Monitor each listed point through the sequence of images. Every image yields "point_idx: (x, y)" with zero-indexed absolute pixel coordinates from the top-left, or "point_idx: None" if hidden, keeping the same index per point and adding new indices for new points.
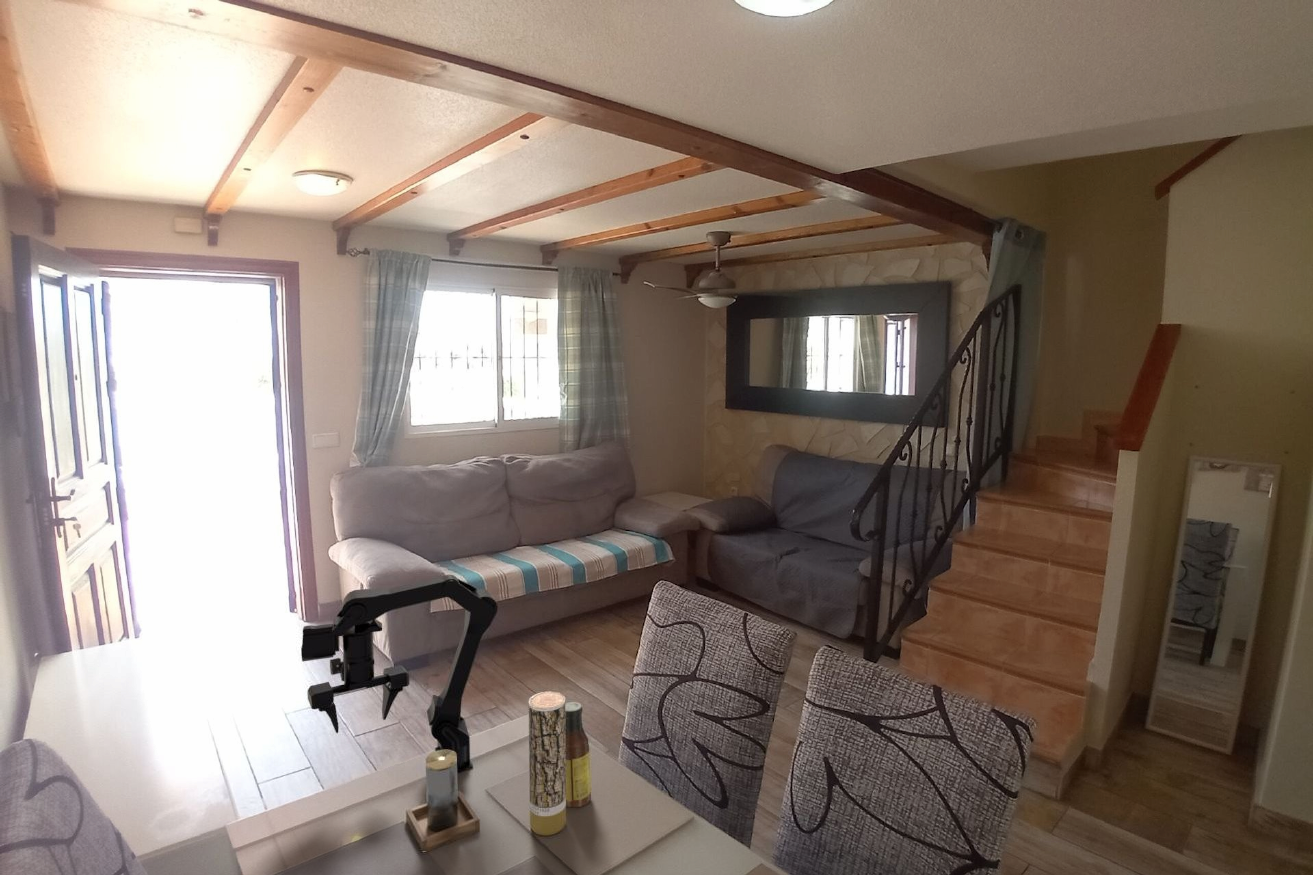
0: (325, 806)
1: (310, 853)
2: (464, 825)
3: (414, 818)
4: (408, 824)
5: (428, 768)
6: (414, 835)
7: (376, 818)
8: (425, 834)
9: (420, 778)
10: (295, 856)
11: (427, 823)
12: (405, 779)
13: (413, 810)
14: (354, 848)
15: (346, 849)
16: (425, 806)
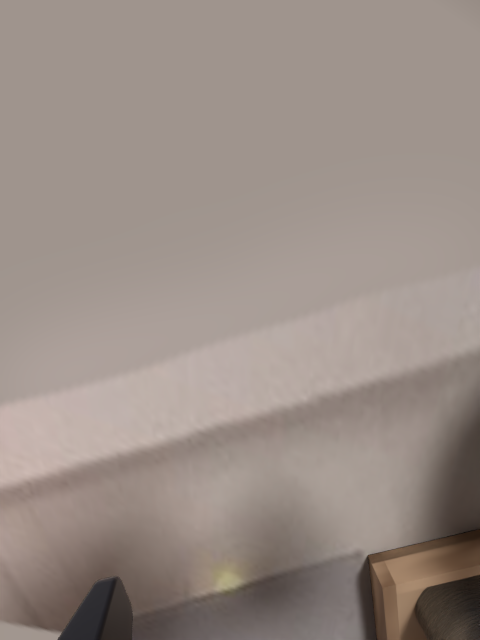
0: (118, 409)
1: None
2: None
3: (395, 623)
4: (370, 572)
5: None
6: (375, 617)
7: (288, 520)
8: (402, 630)
9: (465, 355)
10: (63, 606)
11: (420, 617)
12: (414, 341)
13: (402, 591)
14: (222, 615)
15: (201, 613)
16: (438, 582)
